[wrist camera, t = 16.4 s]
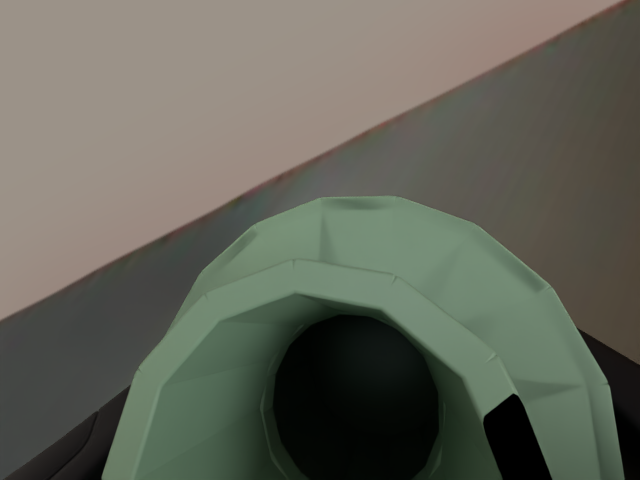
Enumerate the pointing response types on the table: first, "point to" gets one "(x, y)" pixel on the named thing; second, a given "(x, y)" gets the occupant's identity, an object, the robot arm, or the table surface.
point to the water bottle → (368, 360)
